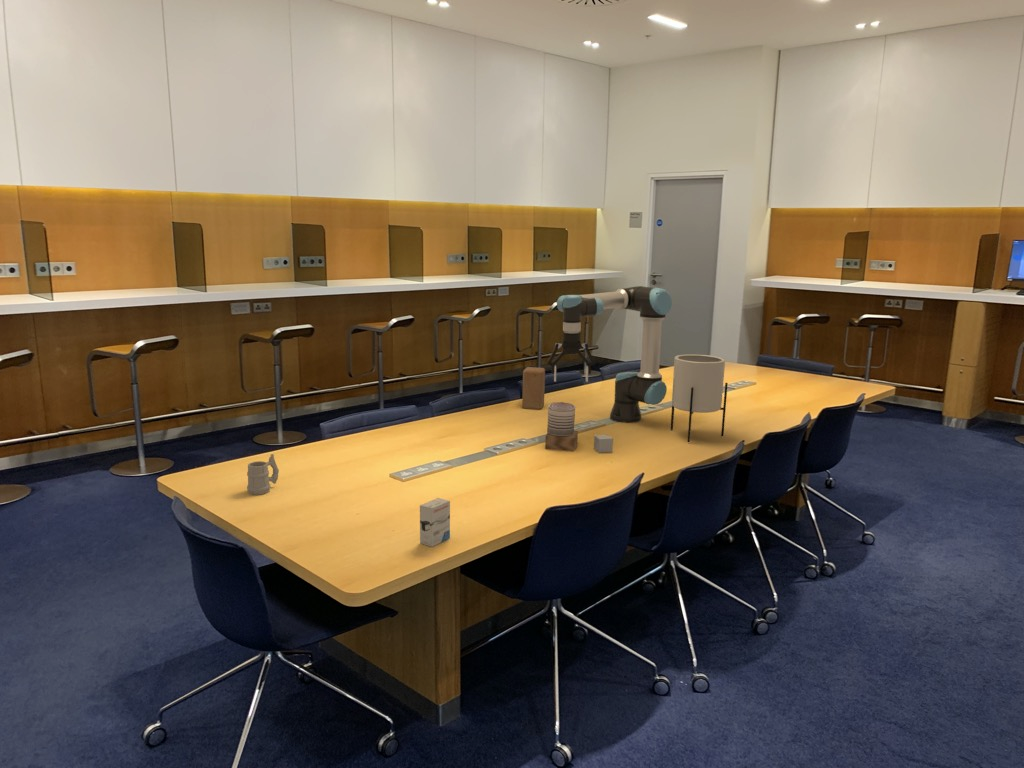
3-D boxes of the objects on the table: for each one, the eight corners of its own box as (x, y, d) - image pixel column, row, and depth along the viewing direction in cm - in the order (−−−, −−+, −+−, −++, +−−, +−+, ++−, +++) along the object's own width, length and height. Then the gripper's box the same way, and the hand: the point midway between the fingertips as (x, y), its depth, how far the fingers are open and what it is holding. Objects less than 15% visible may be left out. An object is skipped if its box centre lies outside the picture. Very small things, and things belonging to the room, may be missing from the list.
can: (577, 431, 326) (578, 404, 323) (569, 437, 315) (571, 409, 313) (551, 428, 329) (553, 401, 327) (543, 434, 319) (544, 406, 317)
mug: (242, 492, 260) (240, 458, 258) (271, 483, 270) (270, 450, 267) (255, 497, 256) (254, 462, 254) (285, 488, 265) (284, 454, 263)
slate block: (607, 448, 322) (607, 434, 321) (612, 452, 316) (613, 438, 315) (593, 449, 320) (594, 435, 319) (598, 453, 315) (599, 439, 313)
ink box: (438, 534, 229) (438, 496, 226) (450, 538, 226) (450, 500, 224) (418, 543, 222) (418, 504, 219) (431, 547, 219) (431, 508, 217)
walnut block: (577, 444, 328) (577, 430, 327) (573, 451, 317) (574, 437, 315) (549, 442, 330) (550, 428, 329) (545, 449, 319) (545, 435, 318)
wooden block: (541, 410, 386) (542, 371, 382) (521, 408, 388) (522, 370, 384) (544, 405, 396) (545, 367, 392) (525, 404, 398) (526, 366, 394)
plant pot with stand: (725, 433, 349) (731, 357, 341) (715, 446, 327) (722, 365, 320) (673, 427, 358) (678, 352, 351) (660, 439, 337) (665, 360, 330)
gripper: (600, 330, 326) (599, 379, 331) (541, 330, 326) (541, 379, 331) (602, 333, 319) (600, 382, 323) (542, 333, 319) (542, 382, 323)
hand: (570, 381), depth 327 cm, fingers open, 13 cm apart
